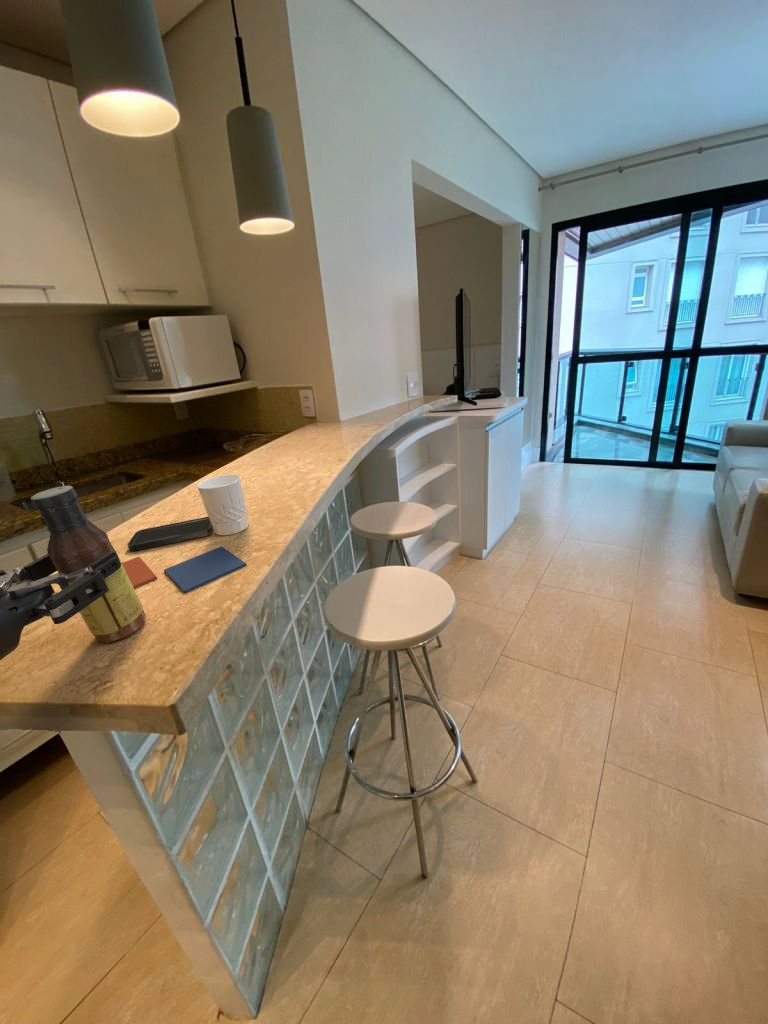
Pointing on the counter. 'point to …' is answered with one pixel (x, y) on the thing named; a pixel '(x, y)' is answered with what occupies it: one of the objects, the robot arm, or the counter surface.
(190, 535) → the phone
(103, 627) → the sauce bottle
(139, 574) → the terracotta mat
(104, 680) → the counter surface
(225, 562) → the slate-blue mat
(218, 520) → the white cup
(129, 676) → the counter surface
